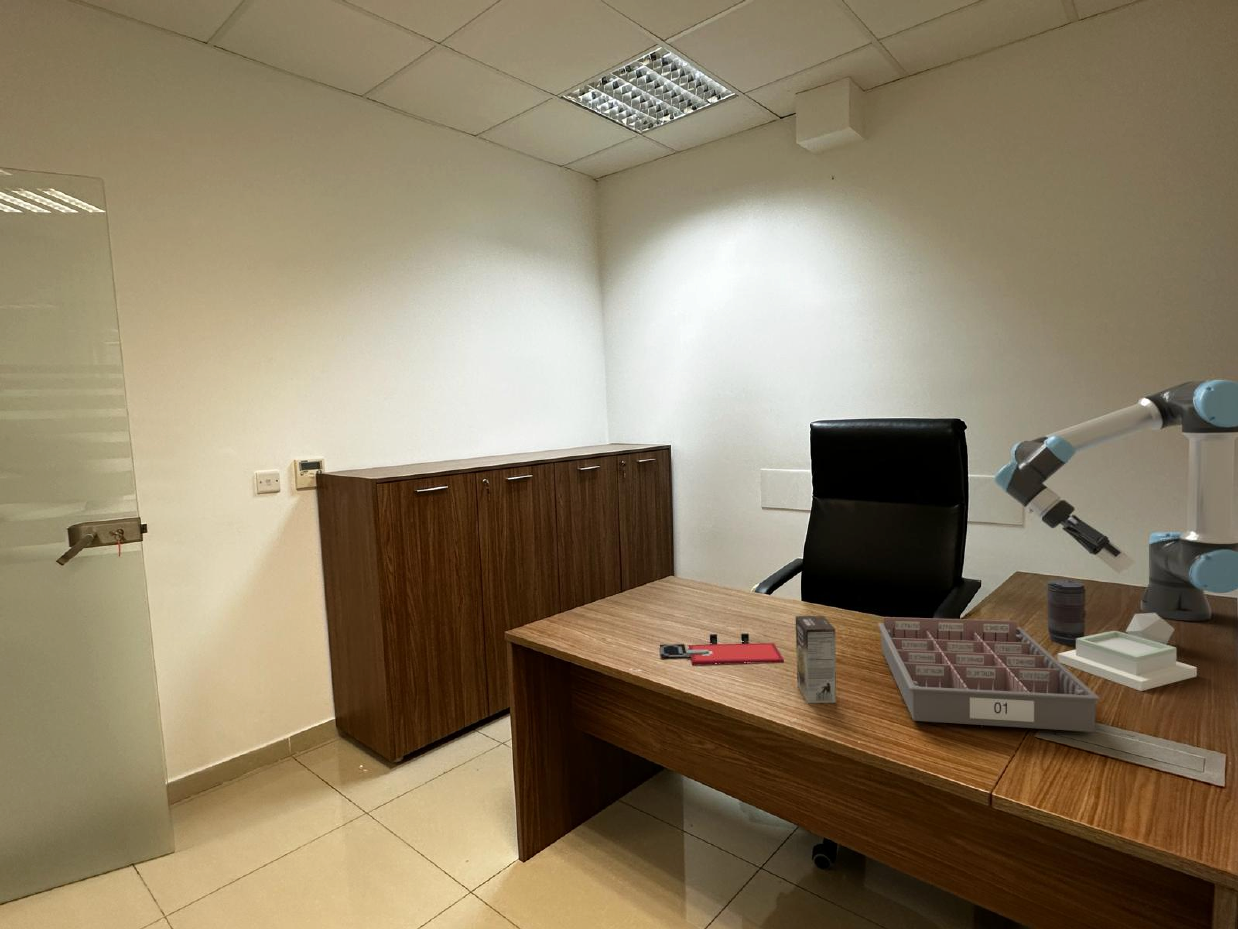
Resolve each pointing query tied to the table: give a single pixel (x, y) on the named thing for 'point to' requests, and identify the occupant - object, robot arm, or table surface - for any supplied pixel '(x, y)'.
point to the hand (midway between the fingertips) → (1127, 568)
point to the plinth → (1128, 677)
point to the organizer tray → (983, 675)
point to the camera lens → (1066, 610)
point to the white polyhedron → (1150, 627)
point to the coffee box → (816, 659)
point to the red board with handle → (724, 652)
